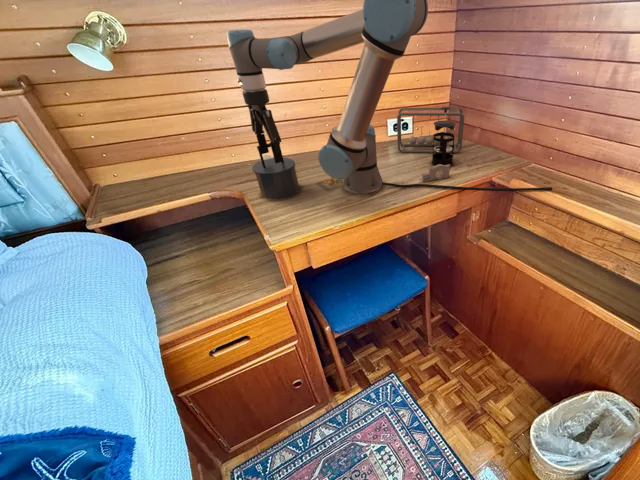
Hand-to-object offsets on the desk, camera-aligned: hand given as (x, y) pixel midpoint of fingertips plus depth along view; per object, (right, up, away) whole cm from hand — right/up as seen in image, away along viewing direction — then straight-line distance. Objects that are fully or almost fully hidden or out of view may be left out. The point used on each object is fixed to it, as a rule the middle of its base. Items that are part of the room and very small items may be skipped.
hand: (272, 157), depth 118 cm
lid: (0, -3, +2) cm, 3 cm away
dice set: (+19, -6, +13) cm, 24 cm away
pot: (0, -10, +8) cm, 13 cm away
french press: (+65, +7, +29) cm, 71 cm away
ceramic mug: (-6, 0, +22) cm, 23 cm away
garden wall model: (+60, -4, +15) cm, 62 cm away
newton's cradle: (+60, +18, +43) cm, 76 cm away
